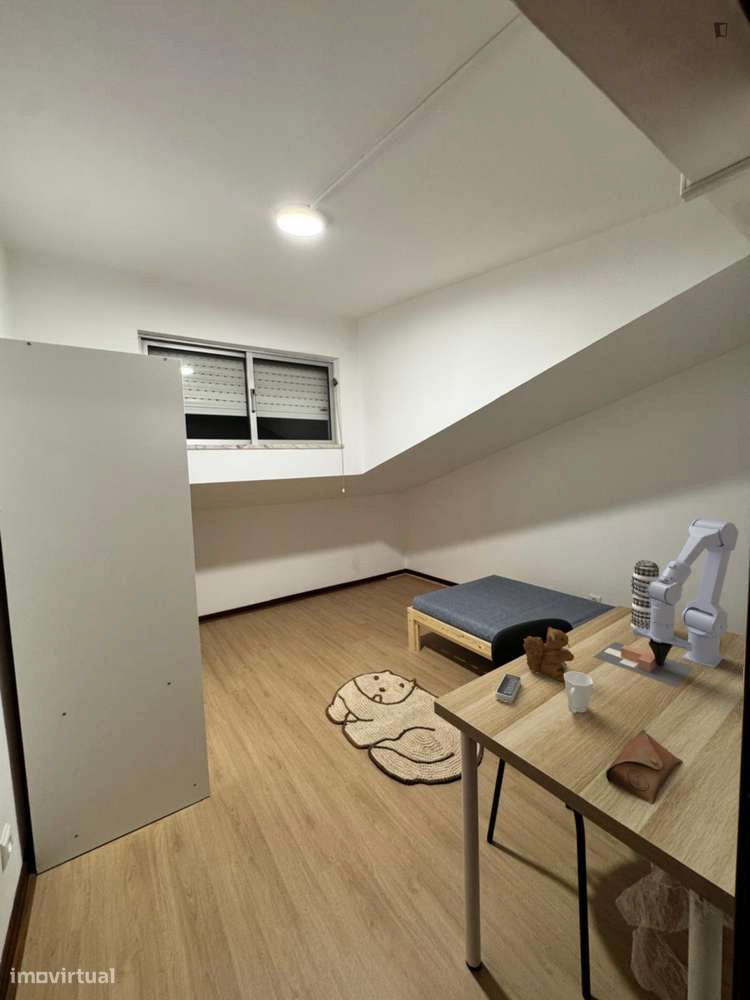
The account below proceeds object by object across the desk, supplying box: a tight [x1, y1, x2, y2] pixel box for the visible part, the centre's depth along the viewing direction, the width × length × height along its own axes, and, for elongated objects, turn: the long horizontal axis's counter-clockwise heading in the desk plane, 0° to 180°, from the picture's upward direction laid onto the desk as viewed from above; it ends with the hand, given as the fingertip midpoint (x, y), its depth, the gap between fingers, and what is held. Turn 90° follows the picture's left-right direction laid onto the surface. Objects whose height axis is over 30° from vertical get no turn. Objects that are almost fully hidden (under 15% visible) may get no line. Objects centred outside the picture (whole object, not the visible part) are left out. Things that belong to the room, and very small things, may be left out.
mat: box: [593, 641, 695, 688], centre depth 122 cm, size 16×22×1 cm
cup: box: [564, 670, 594, 714], centre depth 100 cm, size 7×10×8 cm
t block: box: [621, 644, 657, 672], centre depth 122 cm, size 10×9×3 cm
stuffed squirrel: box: [523, 626, 575, 683], centre depth 118 cm, size 10×14×13 cm
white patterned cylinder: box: [630, 560, 661, 630], centre depth 145 cm, size 9×9×25 cm
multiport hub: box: [495, 673, 522, 704], centre depth 110 cm, size 4×11×2 cm, turn 147°
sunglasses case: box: [605, 729, 683, 805], centre depth 81 cm, size 18×7×7 cm, turn 128°
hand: (660, 664), depth 118 cm, fingers closed
